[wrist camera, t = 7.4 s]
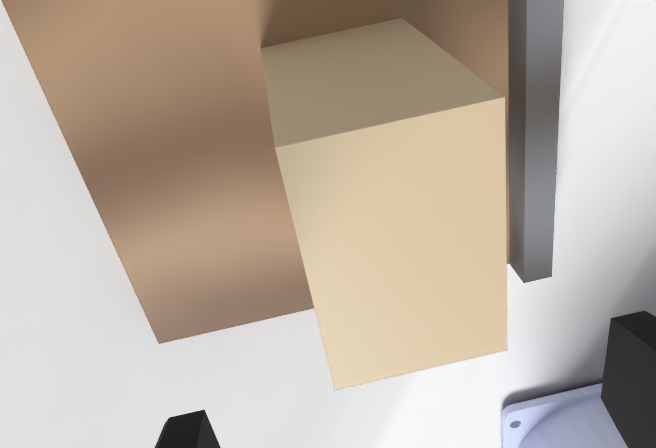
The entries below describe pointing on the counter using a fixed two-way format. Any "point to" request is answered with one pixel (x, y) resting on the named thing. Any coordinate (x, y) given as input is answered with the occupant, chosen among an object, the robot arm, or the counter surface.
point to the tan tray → (256, 134)
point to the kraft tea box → (393, 197)
